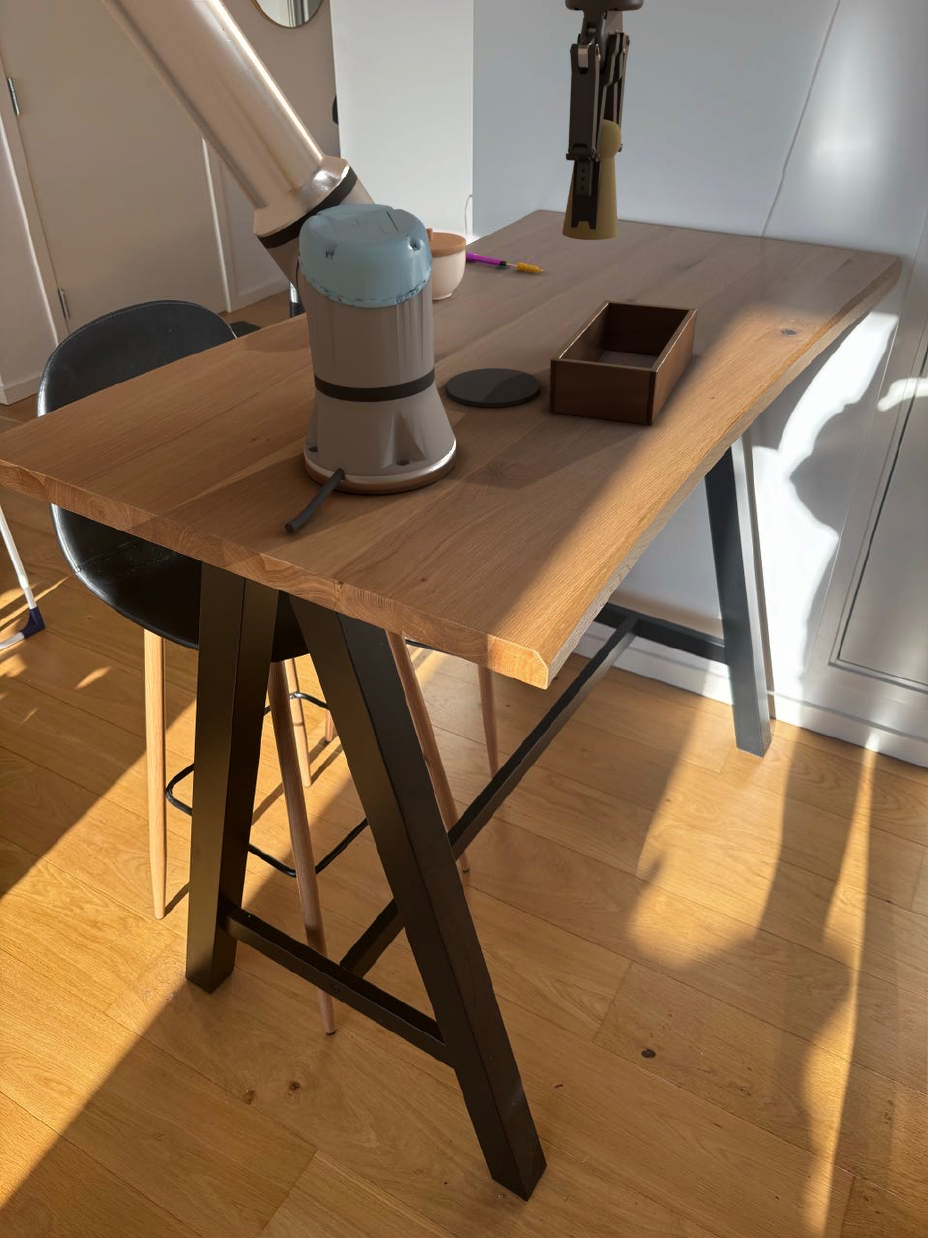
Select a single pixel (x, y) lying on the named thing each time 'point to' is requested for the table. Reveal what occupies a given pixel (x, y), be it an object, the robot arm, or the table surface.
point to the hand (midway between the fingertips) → (590, 222)
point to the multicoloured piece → (500, 262)
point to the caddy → (622, 387)
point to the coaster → (493, 387)
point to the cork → (607, 198)
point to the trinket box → (446, 262)
